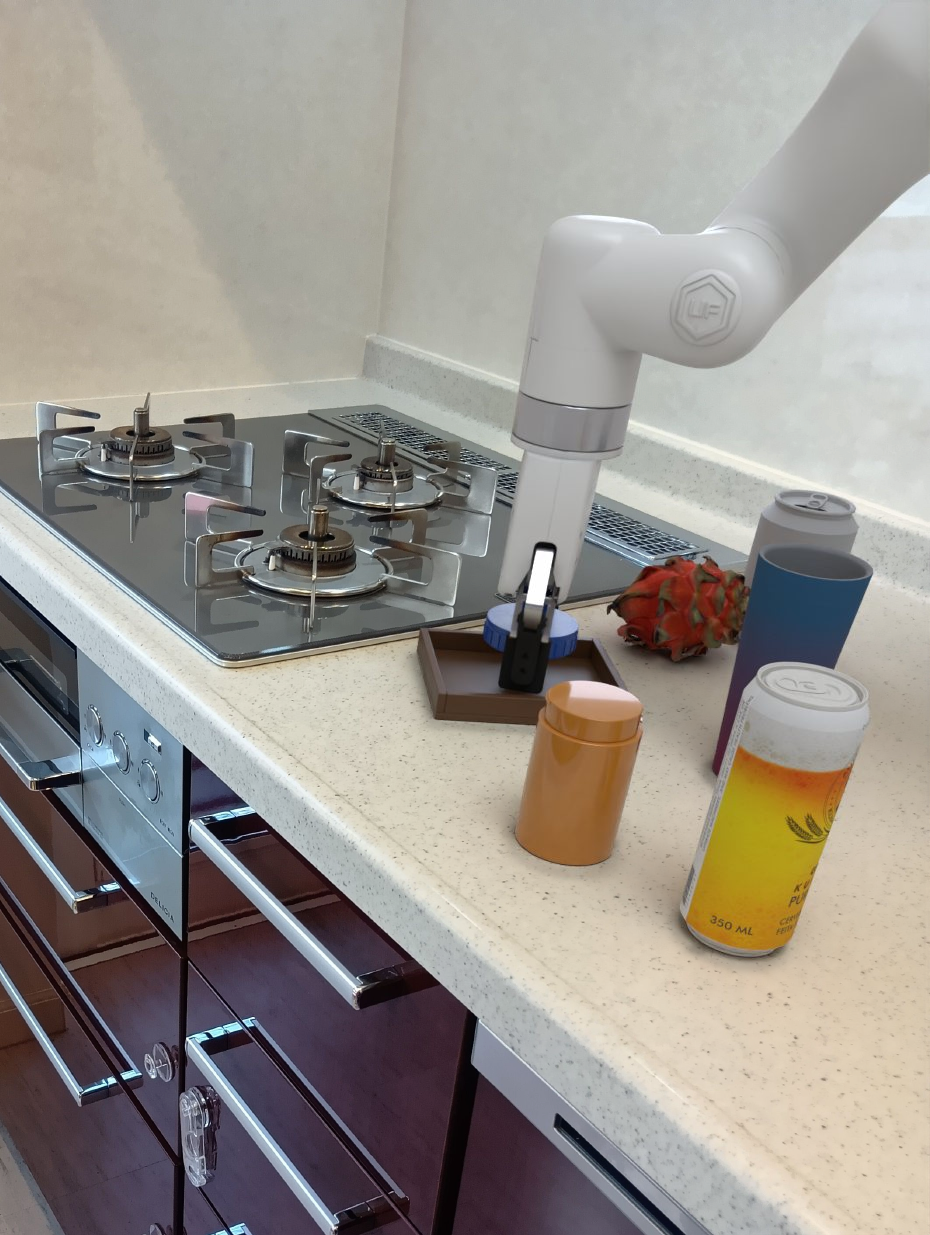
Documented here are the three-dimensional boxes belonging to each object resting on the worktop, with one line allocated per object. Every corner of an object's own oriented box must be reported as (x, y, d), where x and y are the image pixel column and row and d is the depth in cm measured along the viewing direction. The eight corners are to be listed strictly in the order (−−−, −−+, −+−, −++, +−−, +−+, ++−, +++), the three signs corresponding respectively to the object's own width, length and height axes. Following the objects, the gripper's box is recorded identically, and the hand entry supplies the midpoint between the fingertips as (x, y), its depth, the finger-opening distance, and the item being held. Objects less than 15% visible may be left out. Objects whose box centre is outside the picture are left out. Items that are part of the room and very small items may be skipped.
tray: (593, 661, 104) (598, 638, 103) (630, 730, 94) (637, 705, 92) (416, 651, 103) (419, 627, 102) (434, 719, 93) (438, 693, 92)
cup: (708, 741, 93) (767, 535, 84) (807, 766, 90) (878, 556, 82) (690, 780, 88) (751, 564, 79) (794, 808, 85) (869, 588, 77)
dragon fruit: (749, 678, 107) (601, 689, 107) (732, 589, 110) (588, 600, 110) (781, 622, 99) (621, 634, 100) (761, 528, 102) (606, 540, 102)
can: (715, 640, 109) (755, 497, 103) (743, 616, 114) (782, 478, 108) (805, 666, 106) (852, 520, 99) (829, 639, 111) (875, 499, 104)
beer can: (797, 970, 70) (890, 717, 62) (681, 953, 71) (758, 700, 62) (779, 908, 75) (863, 667, 67) (672, 893, 76) (741, 652, 67)
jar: (601, 817, 83) (634, 681, 77) (623, 868, 78) (660, 726, 72) (507, 812, 82) (534, 675, 77) (523, 863, 77) (553, 720, 72)
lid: (489, 657, 93) (493, 634, 92) (476, 621, 99) (480, 599, 98) (583, 662, 93) (588, 640, 92) (565, 626, 99) (569, 605, 98)
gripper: (525, 390, 95) (486, 622, 105) (501, 448, 81) (459, 709, 91) (629, 403, 94) (580, 636, 104) (623, 463, 80) (567, 727, 90)
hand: (524, 668), depth 97 cm, fingers closed on lid, 6 cm apart
